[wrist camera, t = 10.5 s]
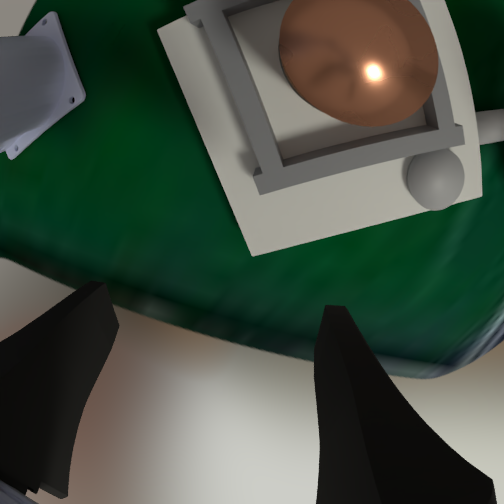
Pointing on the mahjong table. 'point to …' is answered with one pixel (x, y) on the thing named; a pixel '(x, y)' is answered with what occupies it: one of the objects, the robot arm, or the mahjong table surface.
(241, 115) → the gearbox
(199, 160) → the mahjong table surface
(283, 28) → the spout can
